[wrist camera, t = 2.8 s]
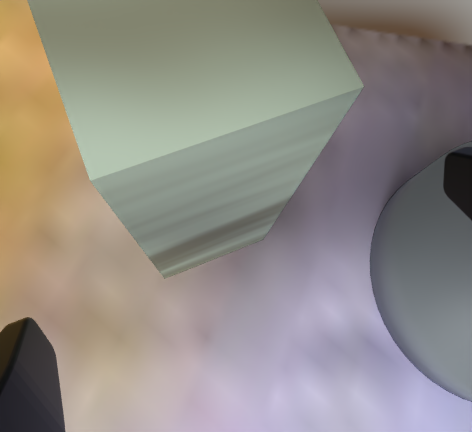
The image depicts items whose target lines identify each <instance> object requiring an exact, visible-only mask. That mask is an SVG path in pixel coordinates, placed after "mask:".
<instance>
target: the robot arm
mask: <svg viewBox="0 0 472 432" xmlns="http://www.w3.org/2000/svg"><path fill="white" fill-rule="evenodd" d="M443 189H444V192H445V194H446V196H447V197H448V198H449V199H450V200H451V201H452V202H453V203H454V204H455V205H456V206H457V207H458V208H459V209H460V210H461V211H462V212H463V213H464V214H465V215H466V216H467V217H468V218H469V219H470V220H471V221H472V147H462V148H460V149H457V150H455V151H452V152H450V153H448V154H447V155H446V157H445V161H444V177H443ZM0 432H65V423H64V414H63V407H62V399H61V391H60V383H59V376H58V368H57V360H56V355H55V351H54V349H53V347H52V345H51V343H50V342H49V340H48V339H47V338H46V336H45V335H44V333H43V332H42V330H41V329H40V327H39V326H38V325H37V323H36V322H35V321H34V320H33V319H32V318H29V317H26V318H23V319H21V320H18V321H16V322H13V323H11V324H8V325H7V326H5V328H4V329H3V330H2V331H1V332H0Z"/></svg>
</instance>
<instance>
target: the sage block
mask: <svg viewBox="0 0 472 432" xmlns="http://www.w3.org/2000/svg"><path fill="white" fill-rule="evenodd" d="M27 1H28V3H29V6H30V9H31V12H32V15H33V18H34V21H35V24H36V26H37V29H38V32H39V35H40V38H41V41H42V44H43V47H44V49H45V52H46V55H47V58H48V61H49V64H50V67H51V69H52V72H53V75H54V78H55V81H56V84H57V87H58V90H59V92H60V95H61V98H62V101H63V104H64V107H65V110H66V113H67V115H68V118H69V121H70V124H71V127H72V130H73V133H74V136H75V138H76V141H77V144H78V147H79V150H80V153H81V156H82V158H83V161H84V164H85V167H86V170H87V173H88V176H89V179H90V181H91V182H92V184H93V185H94V186H95V188H96V189H97V190H98V192H99V193H100V194H101V196H102V197H103V198H104V200H105V201H106V202H107V203H108V205H109V206H110V207H111V209H112V210H113V211H114V213H115V214H116V215H117V217H118V218H119V219H120V221H121V222H122V223H123V225H124V226H125V227H126V229H127V230H128V231H129V232H130V234H131V235H132V236H133V238H134V239H135V240H136V242H137V243H138V244H139V246H140V247H141V248H142V250H143V251H144V252H145V254H146V255H147V256H148V257H149V259H150V260H151V261H152V263H153V264H154V265H155V267H156V268H157V269H158V271H159V272H160V273H161V275H162V276H163V277H164V279H165V278H168V277H170V276H173V275H175V274H178V273H180V272H183V271H185V270H188V269H190V268H193V267H195V266H198V265H200V264H203V263H205V262H208V261H210V260H213V259H215V258H218V257H220V256H223V255H226V254H228V253H231V252H233V251H236V250H238V249H241V248H243V247H246V246H248V245H251V244H253V243H256V242H258V241H261V240H263V239H264V238H265V236H266V235H267V233H268V232H269V230H270V229H271V227H272V226H273V224H274V222H275V221H276V219H277V218H278V216H279V215H280V213H281V212H282V210H283V209H284V207H285V206H286V204H287V203H288V201H289V200H290V198H291V197H292V195H293V194H294V192H295V191H296V189H297V188H298V186H299V185H300V183H301V182H302V180H303V179H304V177H305V175H306V174H307V172H308V171H309V169H310V168H311V166H312V165H313V163H314V162H315V160H316V159H317V157H318V156H319V154H320V153H321V151H322V150H323V148H324V147H325V145H326V144H327V142H328V141H329V139H330V138H331V136H332V135H333V133H334V132H335V130H336V128H337V127H338V125H339V124H340V122H341V121H342V119H343V118H344V116H345V115H346V113H347V112H348V110H349V109H350V107H351V106H352V104H353V103H354V101H355V100H356V98H357V97H358V95H359V94H360V92H361V91H362V89H363V88H364V85H363V83H362V82H361V80H360V78H359V76H358V74H357V72H356V71H355V69H354V67H353V65H352V63H351V61H350V60H349V58H348V56H347V54H346V52H345V50H344V48H343V47H342V45H341V43H340V41H339V39H338V37H337V36H336V34H335V32H334V30H333V28H332V26H331V25H330V23H329V21H328V19H327V17H326V15H325V14H324V12H323V10H322V8H321V6H320V4H319V2H318V1H317V0H27Z"/></svg>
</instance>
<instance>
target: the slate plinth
mask: <svg viewBox="0 0 472 432" xmlns="http://www.w3.org/2000/svg"><path fill="white" fill-rule="evenodd" d="M462 147H472V141H471V142H468V143H464V144H462V145H460V146H458V147H456V148H454V149H452V150H450V151H449V152H447V153H446V154H444V155H443V156H441V157H440V158H439V159H437V160H436V161H434V162H433V163H432V164H430V165H429V166H428V167H426V168H425V169H423V170H422V171H421V172H419V173H418V174H417V175H415V176H414V177H413V178H411V179H410V180H408V181H407V182H406V183H405V184H404V185H403V186H401V187H400V188H399V189H398V190H397V191H396V192H395V194H394V195H393V196H392V197H391V199H390V200H389V201H388V202H387V204H386V206H385V208H384V209H383V211H382V213H381V215H380V217H379V220H378V222H377V225H376V227H375V230H374V235H373V239H372V243H371V253H370V276H371V282H372V288H373V293H374V297H375V300H376V304H377V307H378V310H379V312H380V315H381V317H382V319H383V322H384V324H385V326H386V328H387V329H388V331H389V333H390V335H391V337H392V338H393V340H394V341H395V343H396V344H397V346H398V347H399V348H400V350H401V351H402V352H403V354H404V355H405V356H406V357H407V358H408V359H409V361H410V362H411V363H412V364H413V365H414V366H415V367H416V368H417V369H418V370H419V371H420V372H422V373H423V374H424V375H425V376H426V377H427V378H429V379H430V380H431V381H433V382H434V383H436V384H437V385H439V386H440V387H442V388H443V389H445V390H446V391H448V392H450V393H452V394H454V395H456V396H458V397H460V398H462V399H465V400H468V401H471V402H472V221H471V220H470V219H469V218H468V217H467V216H466V215H465V214H464V213H463V212H462V211H461V210H460V209H459V208H458V207H457V206H456V205H455V204H454V203H453V202H452V201H451V200H450V199H449V198H448V197H447V196H446V194H445V192H444V189H443V177H444V161H445V157H446V155H447V154H448V153H450V152H452V151H455V150H457V149H460V148H462Z"/></svg>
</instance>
